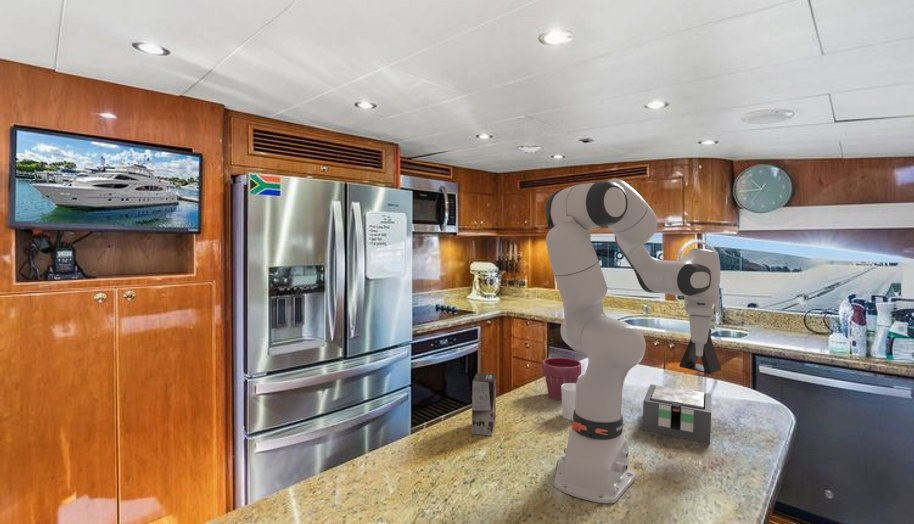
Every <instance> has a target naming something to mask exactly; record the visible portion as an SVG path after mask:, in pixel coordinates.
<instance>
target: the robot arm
mask: <svg viewBox="0 0 914 524" xmlns="http://www.w3.org/2000/svg"><path fill="white" fill-rule="evenodd" d="M544 213H545V214H544V215H545V220H546V223H547V227H548V228H549V231H548V232H547V234H546V237H545V242H546V250H547V256H548V259H549V260H548V261H549V263H550V268H551V270H552V273H553V276H554V279H555V283H556V285H557V288H558V291H559V294H560V297H561V301H562V305H563V306H562V307H563V313H564V316H563V317H564V319H563V320H562V322H561V324H560V337H561V339H562V341H563V342H564V343H565V344H566V345H568V347H569V348H571V349H572V350H573V351H575V352H577V353H579V354H581V355H583V356H586V357H587V358H588V360H587V361H588V363H587V367H586V370H585V373H584V374H583V375H582V374H581V375H580V376H579V377H578V380H577V382H576V400H575V410H574V413H573V418H572V423H571V427H570V428H569V429H568V439H567V443H566V447H564V449H563V452H564V453H563V454H560V455H559V459H558V464H557V468H556V474H555V476H554V477H555V478H554V481H553V482H554V483H553V486H554V487H555V488H556V489H557V490H559V491H560V492H563V493H565V494H567V495H569V496H572V497H575V498H577V499H581V500H586V501H590V502H594V503H600V504H615V503H616V502H617V501H618V500H619V499H620V497H622V495H623V494H624V493H625V492H626V491H627V490H628V488H629V487H630V486H631V485H632V484H633V483H634V482H635V481H636V479H637V473H636V471H634V470H633V469H631V468H630V447H629V443H630V442H629V441H628V440H627V438H626V437H625V436H624V434H623V432H624V431H623V430H624V417H623V415H622V401H623V400H622V399H623V389H624V385H625V380H626V378H627V376H628V374H629V372H630V371H631V369H632V368H634V367H636V366H637V365H638V364H639V363H641V362H642V360H643V358H644V356H645V355H646V349H647V348H646V347H647V344H646V338H645V336H644V335H643V333H642V332H641V331H640V330H638V329H637V328H636V327H635V326H633V325H631V324H629V323H627V322H626V321H623V320H619V319H616V318H612V317H610V316H607V315H606V313H605V311H604V309H603V308H604V307H603V299H604V298H605V297H606V295H607V293H608V286H607V282H606V280H605V276H604V273H603V270H602V267H601V264H600V261H599V258H598V256H597V252H596V251H595V247H594V246H593V243H592V241H591V239H592V238H591V237H592V236H591V235H592V234H591V233H592V230H593V229H597V228H606V227H608V229H609V230H610V231H611V232H612V233H613V235H614V241H615V244H616V246H617V247H618V249H619V251H620V252H621V254H622V256H624V258H625V260H626V261H627V263H628V264H629V266H630V267H631V268H632V270H633V272H634V274H635V276H636V279H637V281H638V284H639V286H640V287H641V289H642V290H644V291H645V292H646V293H650V294H651V293H652V294H666V295H673V296H681V297H684V307H683V308H684V309H683V310H684V311H685V312H686V314H687V315H688V318H689V330H690V331H689V332H690V339H691V340H692V342H693V343H695V346H696V356H698V357H701V356H703V348H704V344H706V343H707V339H708V334H709V328H710V329H711V327H710V326H711V321H712V319H714V318H715V315H716V314H718V313H720V301H721V300H720V298H721V297H720V290H719V286H720V283H721V260H720V256H719V253H717V252H716V251H714V250H712V249H711V250H710V249H705V248H692V249H689V250H688V253H687V254H686V256H684V257H683V258H680V259H678V260H664V259H659V258H655V257H653V256H651V255H650V253H649V251H648V250H647V248H646V247H645V244H647V243H648V242H649V241H650V240H651V239H652V237H653V236H654V235H655V233H656V231H657V228H658V217H657V215H656V214H655V211H654V210H653V208H651V206H650V205H649V204H648V202H646V200H645V199H644V198H643V196H642V195H640V194H639V193H638V192H637V191H636V190H635V189H634V188H633V186H631V185H630V184H628V183H627V182H625V181H624V180H622V179H619V178H611V179H608V180H600V181H599V180H598V181H597V182H590V183H589V182H588V183H580V184H576V185H573V186H569V187H566V188H561V189H559V190H556V191H555V192H553V193H552V194H551V195H549V196H548V197H547V199H546V202H545V206H544Z"/></svg>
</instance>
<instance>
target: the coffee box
mask: <svg viewBox="0 0 914 524" xmlns="http://www.w3.org/2000/svg"><path fill="white" fill-rule="evenodd" d="M471 387H472V388H471V389H472V394H471V395H472V396H471V397H472V400H471V403H472V404H471V434H472V435H481V436H482V435H483V436H488V437H489V436H493V433H494V430H495V427H496V421H497V420H496V419H497V418H496V417H497V416H496V415H497V411H496V410H497V373H494V372H492V373H491V372H476V373H475V375H474V378H473V379H472V386H471Z"/></svg>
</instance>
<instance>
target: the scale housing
mask: <svg viewBox="0 0 914 524" xmlns="http://www.w3.org/2000/svg"><path fill="white" fill-rule="evenodd" d="M656 385H657V384H651V383H650V385H649V387H648V389H647V391H646V394H645V396H644V399H643V401H642V402H643V406H642V431H646V430H647V432H651V431H652V433H657V434H661V435H665V436H667V435H668V436H671V435H672V437H676V436H677V437H676V438H681V437H683V438H682V439H685V438H687V439H686V440H690V439H692V441H695V440H698V441H697V442H700V441H701V442H702V443H705V442H706V443H707V444H711V429H712V428H711V427H712V425H711V424H712V393H708V392H704V408H703V409H698V408H692V407H686V406H681V407H679V412H677V411H673V405H672V404H669V403H663V402H657V401H652V400H651V397H652V395H653V392H654V390H655V387H656ZM701 442H700V443H701Z"/></svg>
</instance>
